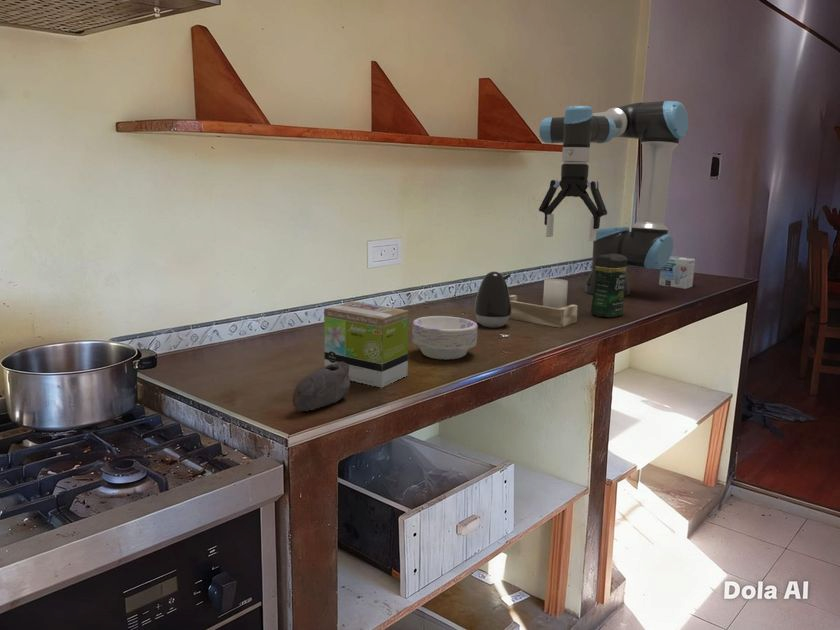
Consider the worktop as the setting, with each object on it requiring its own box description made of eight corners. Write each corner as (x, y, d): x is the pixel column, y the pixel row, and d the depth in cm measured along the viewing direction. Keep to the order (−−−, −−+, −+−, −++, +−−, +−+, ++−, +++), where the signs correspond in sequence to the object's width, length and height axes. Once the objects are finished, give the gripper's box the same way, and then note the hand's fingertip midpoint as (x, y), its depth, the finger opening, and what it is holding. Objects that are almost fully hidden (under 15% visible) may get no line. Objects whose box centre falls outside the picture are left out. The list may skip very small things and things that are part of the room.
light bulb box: (658, 285, 266) (660, 257, 264) (665, 283, 271) (667, 255, 269) (686, 289, 260) (689, 260, 257) (692, 286, 265) (695, 258, 262)
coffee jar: (608, 319, 206) (613, 256, 202) (586, 314, 211) (590, 253, 207) (627, 315, 212) (632, 254, 208) (605, 311, 218) (610, 251, 214)
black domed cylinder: (518, 327, 194) (521, 273, 190) (487, 331, 189) (489, 275, 185) (497, 320, 202) (499, 267, 199) (466, 323, 197) (468, 270, 194)
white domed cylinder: (549, 309, 218) (551, 278, 216) (570, 313, 213) (572, 280, 211) (538, 313, 213) (539, 280, 210) (558, 316, 208) (560, 283, 206)
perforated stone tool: (304, 420, 122) (303, 382, 120) (282, 414, 125) (281, 376, 123) (358, 397, 134) (358, 362, 133) (337, 392, 137) (337, 358, 136)
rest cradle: (511, 310, 215) (512, 294, 214) (576, 322, 201) (577, 305, 200) (494, 315, 208) (494, 299, 207) (560, 327, 194) (561, 310, 193)
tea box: (322, 376, 147) (321, 307, 144) (351, 365, 155) (351, 299, 152) (382, 389, 139) (382, 316, 136) (409, 377, 147) (410, 308, 144)
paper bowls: (489, 355, 165) (491, 322, 163) (444, 367, 155) (445, 332, 153) (443, 343, 176) (444, 312, 174) (398, 353, 165) (398, 320, 164)
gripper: (529, 162, 203) (526, 236, 207) (611, 163, 187) (605, 243, 192) (542, 162, 208) (538, 234, 213) (622, 164, 193) (616, 241, 198)
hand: (570, 238), depth 202 cm, fingers open, 13 cm apart
